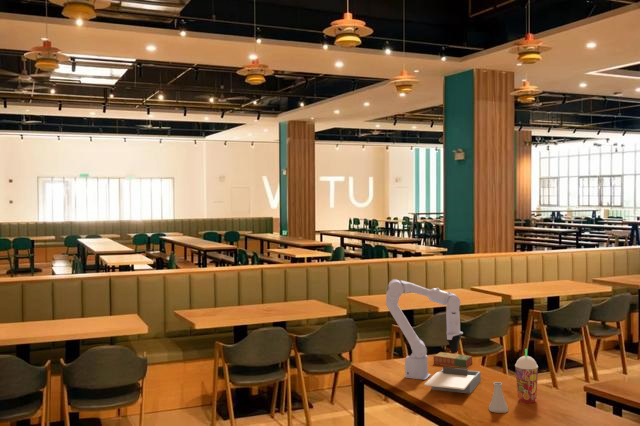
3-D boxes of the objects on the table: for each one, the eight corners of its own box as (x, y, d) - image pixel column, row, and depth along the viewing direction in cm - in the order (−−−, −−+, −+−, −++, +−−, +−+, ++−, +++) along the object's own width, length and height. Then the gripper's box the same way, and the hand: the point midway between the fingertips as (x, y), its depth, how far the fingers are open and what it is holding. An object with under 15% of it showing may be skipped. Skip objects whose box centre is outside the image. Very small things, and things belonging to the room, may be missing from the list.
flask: (509, 407, 238) (508, 381, 237) (508, 414, 231) (507, 387, 230) (489, 406, 240) (488, 379, 240) (487, 412, 233) (486, 385, 233)
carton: (440, 360, 307) (440, 351, 307) (472, 364, 298) (472, 355, 298) (433, 364, 300) (433, 355, 300) (466, 368, 291) (466, 359, 291)
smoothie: (511, 399, 246) (509, 348, 246) (528, 396, 250) (527, 345, 249) (526, 405, 239) (524, 352, 238) (543, 402, 242) (542, 349, 241)
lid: (424, 385, 254) (424, 377, 254) (437, 373, 270) (437, 365, 270) (464, 389, 247) (464, 381, 247) (475, 376, 263) (475, 369, 263)
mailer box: (431, 389, 262) (431, 379, 262) (443, 377, 278) (443, 368, 278) (470, 393, 255) (470, 383, 255) (480, 381, 271) (480, 371, 271)
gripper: (457, 325, 270) (459, 357, 271) (466, 318, 283) (467, 349, 284) (441, 324, 273) (442, 356, 274) (450, 318, 286) (451, 348, 287)
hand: (454, 352), depth 279 cm, fingers closed
